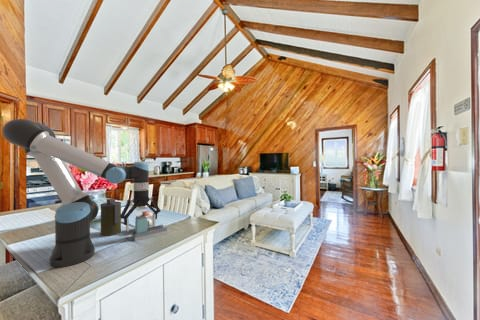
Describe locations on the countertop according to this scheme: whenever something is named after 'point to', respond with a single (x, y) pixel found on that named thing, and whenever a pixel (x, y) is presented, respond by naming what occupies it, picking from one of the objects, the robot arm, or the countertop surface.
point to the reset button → (145, 213)
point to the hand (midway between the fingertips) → (141, 227)
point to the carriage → (140, 224)
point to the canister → (110, 218)
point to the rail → (150, 232)
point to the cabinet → (148, 219)
